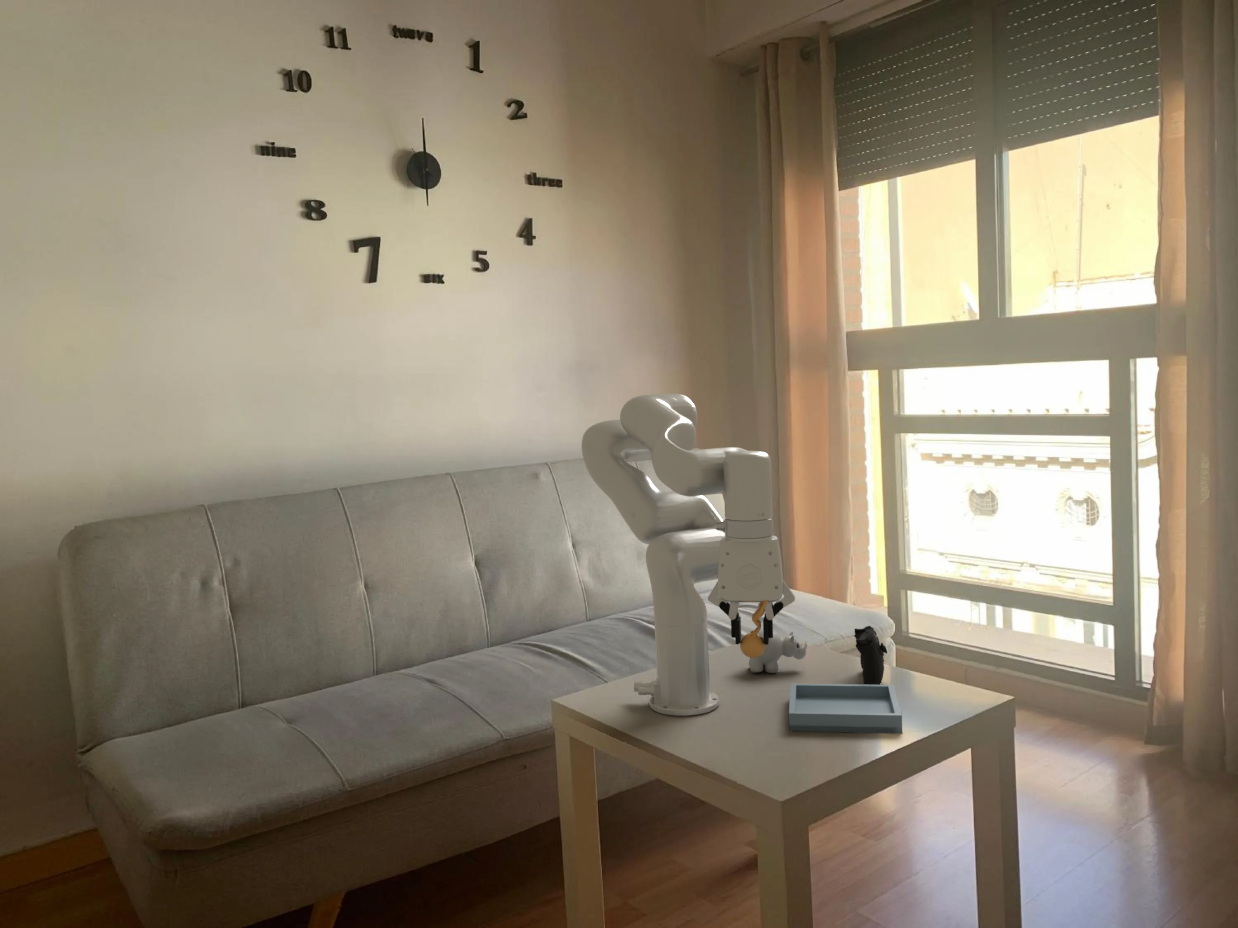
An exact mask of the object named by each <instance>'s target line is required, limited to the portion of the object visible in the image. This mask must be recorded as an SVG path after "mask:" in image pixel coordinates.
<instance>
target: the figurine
mask: <svg viewBox="0 0 1238 928" xmlns="http://www.w3.org/2000/svg"><path fill="white" fill-rule="evenodd" d="M767 602H768V600H765V602H764V604H763V602H758V604H757V609H756V610H755V611H754V613H752V617H751V620H752V622H753V623H754V625H755V626H756V627H755V629H754V630H751V631H750V632H749V633H746V634H745V635H743V636H742V637H741V642H740V643H739V646H740V650H741V652H742V654H743V655H745V656H746V657H748V658H749V659H750V658H756V657H759V656H760V655H762V653H763V652H764V650H765V644H764V639H763V638H762V637H761V636H760V635H759V634H757V633H758V632H759V630H760V629H762V621H761V620H760V618H762V617H764V615H765V609H764V608H765V607H766V605H767Z"/></svg>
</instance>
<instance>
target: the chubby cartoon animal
mask: <svg viewBox="0 0 1238 928" xmlns="http://www.w3.org/2000/svg"><path fill="white" fill-rule="evenodd" d="M757 634H759V635H760V636H761V637H762V638H763V639H764V635H763V628H761V629H760V630H759V632H758V633H757ZM807 649H808V644H807V641H804V645H803V644H802V643H801V644H800V643H799V640H798V639H797V638H796V637H795V635H794V632H793V631H791V632H790V633H789V635H787V636H785V637H781V636H780V634H778V633H777V631H775V630H773V638H769V643H768V645H765V650H764V652H763V653H762V655H760V656H759V657H756V658H750V657H749V660H748V666H749V668H750V669H749V670H750V672H751V673H762V672H763V671H764V670H765V672H766V673H768V674H776V673H778V672H779V663H778V661H779V660H780V658H781V657H782V656H784V657H786V658H791V657H793V658H795V659H796V660H802V659H804V658H805V657H806V655H807Z"/></svg>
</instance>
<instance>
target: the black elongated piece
mask: <svg viewBox="0 0 1238 928" xmlns="http://www.w3.org/2000/svg"><path fill="white" fill-rule="evenodd" d="M853 636H854V638H855V639H856V640H855V643H856V644H855V647H856V649H857V651H858V652H859V654H860V666H861V670H862V681H863V684H869V685H882V681H883V678H884V677H883V676H884V673H885V672H884V671H885V665H884V664H885V663H884V662H885V660H884V656H885V654H888V650H887V647H886V645H885V644H884V643H883V642H880V640H879V637H878V636H877V630H875V628H874V627H872V626H871V625H867V626H864V628H854V635H853ZM884 653H885V654H884Z"/></svg>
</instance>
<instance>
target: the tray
mask: <svg viewBox="0 0 1238 928" xmlns="http://www.w3.org/2000/svg"><path fill="white" fill-rule="evenodd" d="M789 693H790V694H789V702H788V703H789V704H788V705H789V707H788V728H789V729H788V730H789V732H815V733H817V732H818V733H819V732H821V733H823V732H824V733H862V734H865V733H866V734H869V733H870V734H903V715H902V712H901V708H900V704H899V700H898V697H897V692H896V689H895V685H894V684H880V685H869V684H864V683H863V684H859V683H858V684H857V683H854V684H852V683H846V684H845V683H790V689H789Z"/></svg>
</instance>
